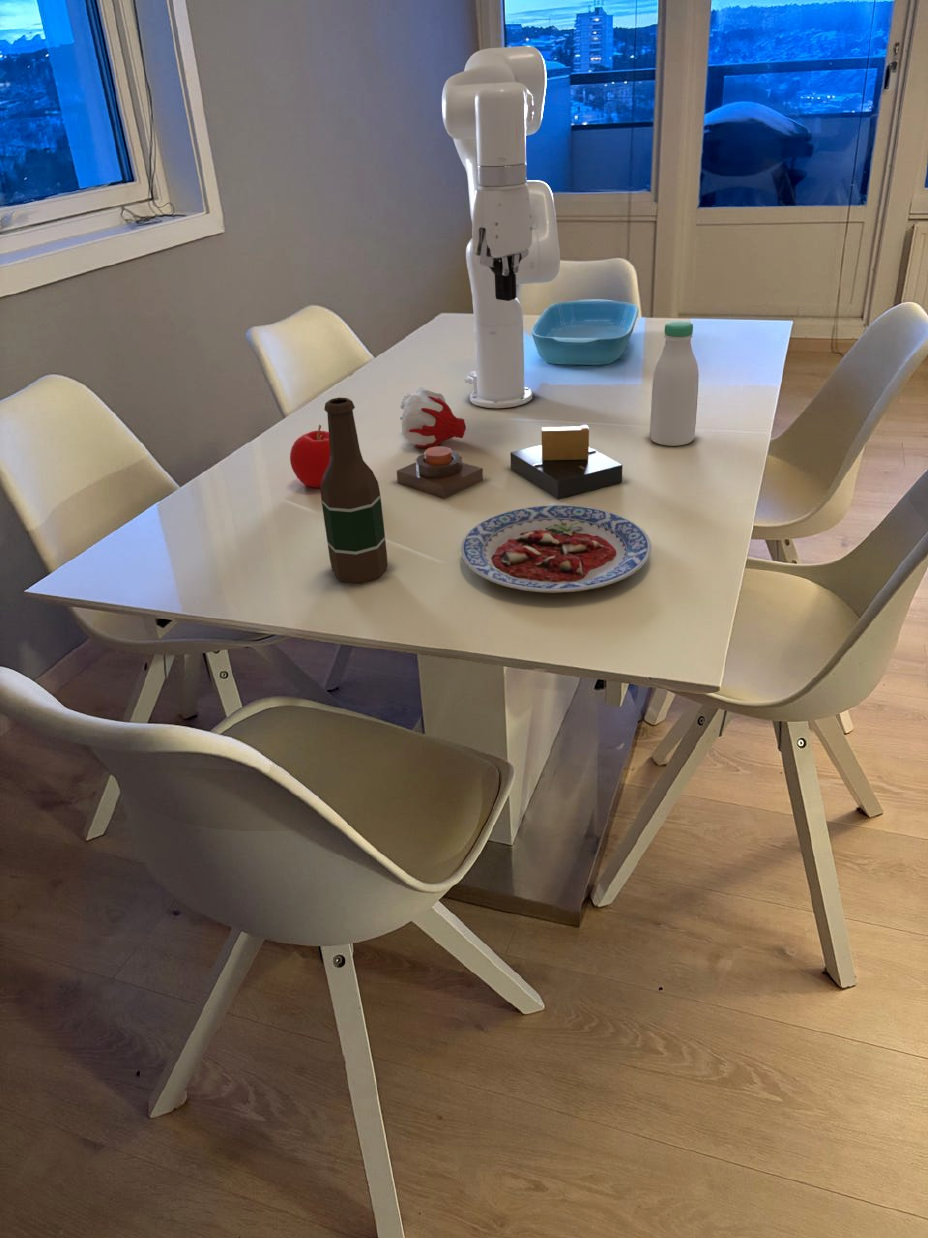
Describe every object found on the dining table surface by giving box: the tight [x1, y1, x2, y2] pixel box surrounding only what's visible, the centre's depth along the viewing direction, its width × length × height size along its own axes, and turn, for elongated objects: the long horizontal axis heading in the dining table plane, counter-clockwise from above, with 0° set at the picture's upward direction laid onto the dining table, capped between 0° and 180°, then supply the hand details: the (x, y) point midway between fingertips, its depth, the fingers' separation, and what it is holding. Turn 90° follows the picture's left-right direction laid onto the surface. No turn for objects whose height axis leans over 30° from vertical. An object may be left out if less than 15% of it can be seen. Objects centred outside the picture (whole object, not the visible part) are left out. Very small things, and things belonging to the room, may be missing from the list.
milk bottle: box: [649, 320, 700, 447], centre depth 161 cm, size 8×8×20 cm
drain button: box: [423, 445, 453, 465], centre depth 153 cm, size 4×4×2 cm
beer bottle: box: [319, 397, 388, 584], centre depth 123 cm, size 8×8×24 cm
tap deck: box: [509, 444, 623, 500], centre depth 153 cm, size 15×12×3 cm
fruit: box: [289, 424, 330, 489], centre depth 155 cm, size 9×9×10 cm
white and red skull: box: [400, 387, 467, 449], centre depth 168 cm, size 9×11×15 cm
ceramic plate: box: [460, 504, 652, 594], centre depth 129 cm, size 26×26×3 cm
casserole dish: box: [530, 298, 639, 366], centre depth 217 cm, size 37×22×7 cm, turn 166°
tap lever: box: [541, 424, 590, 461], centre depth 151 cm, size 8×2×5 cm, turn 86°
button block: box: [396, 451, 484, 499], centre depth 154 cm, size 11×9×4 cm
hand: (505, 298), depth 155 cm, fingers closed
